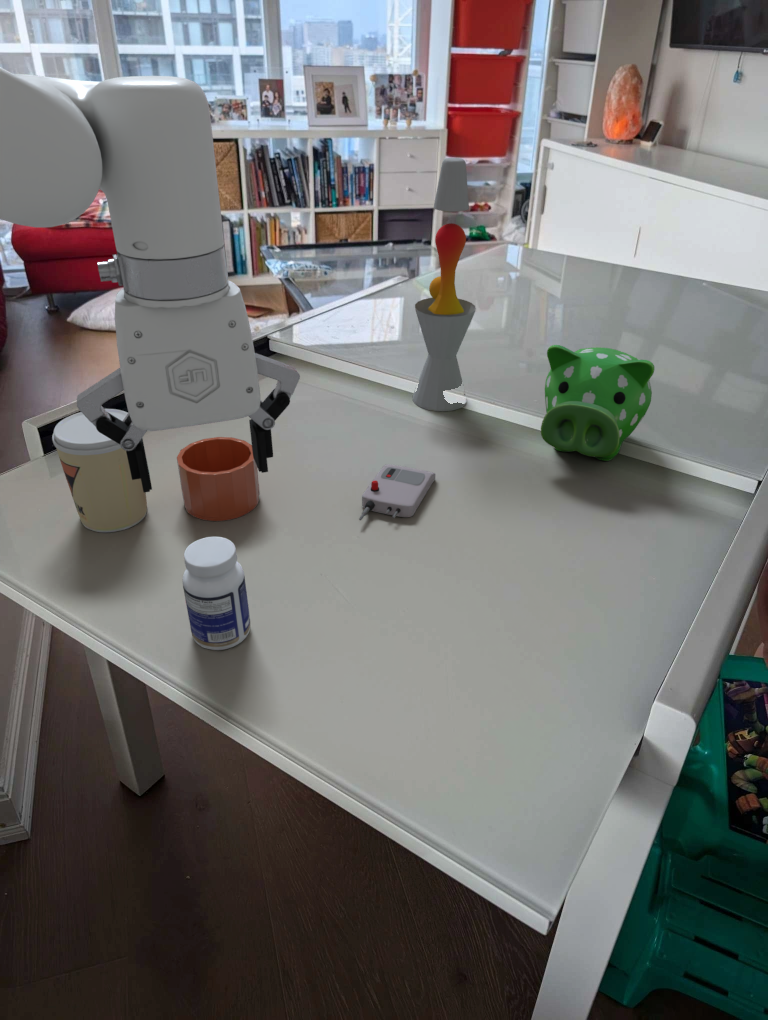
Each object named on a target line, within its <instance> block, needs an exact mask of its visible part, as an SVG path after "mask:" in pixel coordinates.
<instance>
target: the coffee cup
mask: <svg viewBox="0 0 768 1020" xmlns="http://www.w3.org/2000/svg"><path fill="white" fill-rule="evenodd" d="M104 410H105V411H106V412H108V413H110V414H111V415H113V416H115V417H116V418H118V419H120V420H121V421H123V420H124V418H125V417H126V415H127V414H128V412H127V411H124V410H121V409H116V408H104ZM51 436H52V437H51V441H52V443H53V446H54V447H55V448H56V449H55V450H56V451H57V455H58V458H59V461H60V464H61V467H62V470H63V473H64V476H65V480H66V482H67V485H68V488H69V491H70V494H71V497H72V500H73V503H74V505H75V508H76V512H77V514H78V517H79V520H80V522H81V524H82V525H83V526H84V528H86V529H88V530H90V531H92V532H96V533H115V532H121V531H124V530H128V529H130V528H133V527H134V526H137V525H138V524H139V523H140V522H142V521H143V520H144V518H145V517H146V515H147V512H148V503H147V502H148V501H147V494H146V493H147V492H145V493H144V492H143V487H142V482H141V479H135V480H132V477H131V472H130V467H129V463H128V458H127V453H126V450H124V449H122V448H121V445H120V444H118V443H116V442H115V441H113V440H111V439H110V438H108V437H106V436H105V435H103V434H101V433H100V432H98V431H97V429H96V427H95V426H94V425H93V423H91V422H90V421H89V420H88V419H87V418H86V417H85V415H84V414H83V413H82V412H81V411H80V412H77V413H73V414H71V415H68V416H66V417H65V418H63V419H61V420H60V421H59V422H58V423H56V425H55V427H54V428H53V433H52V435H51Z"/></svg>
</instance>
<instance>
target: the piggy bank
mask: <svg viewBox="0 0 768 1020" xmlns="http://www.w3.org/2000/svg"><path fill="white" fill-rule="evenodd" d="M546 355H547V360H548V363H549V367H550V370H549V372H548V373H547V376H546V379H545V384H544V403H545V411H546V413H545V415H544V417H543V419H542V422H541V426H540V435H541V438H542V440H543V441H544V442H545V443H546V444H548V445H549V446H551V447H553V448H554V449H555V450H556V451H558V452H562V453H568V452H569V453H571V452H577V453H578V454H581V455H583V456H586V457H590V458H591V457H592V458H595V459H597V460H598V461H604V462H609V461H612V460H613V459H614V458H615V457H616V456H617V455H618V453H619V452H620V450H621V447H622V444H623V442H624V441H625V440H626V439H627V438H628V437H630V435H631V434H632V433H633V432H634V431H635V430H636V428H638V426H639V424H640V423H641V422H642V420H643V419H644V417H645V415H646V414H647V411H648V409H649V407H650V406H651V402H652V396H653V395H652V394H653V391H652V390H653V389H652V384H651V381H650V380H651V378H652V376H653V375H654V372H655V365H654V363H653V362H652V361H650V360H648V359H639V358H637V357H635V356H633V355H631V354H629V353H626V352H624V351H621V350H618V349H615V348H614V349H613V348H609V347H596V346H595V347H585V348H579V349H577V350H575V351H573V350H571V349H569V348H567V347H566V346H564V345H561V344H553V345H550V346H548V348H547V351H546ZM620 446H621V447H620Z"/></svg>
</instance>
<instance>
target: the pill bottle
mask: <svg viewBox="0 0 768 1020" xmlns="http://www.w3.org/2000/svg"><path fill="white" fill-rule="evenodd" d="M183 559H184V560H183V561H184V566H185V570H184V572H183V575H182V588H183V593H184V599H185V604H186V610H187V616H188V621H189V626H190V627H189V628H190V632H191V635H192V638H193V640H194V642H195V643H196V644H197V645H199V646H200V647H202V648H204V649H206V650H213V651H222V650H223V651H224V650H227V649H230V648H233V647H236V646H237V645H239V644H241V643H242V642H243V641H244V640H245V639H246V638H247V637H248V635H249V633H250V630H251V616H250V608H249V607H250V606H249V600H248V591H247V584H246V575H245V571H244V569H243V566H242V565H241V563H240V562H239V561H238V554H237V549H236V545H235V543H234V542H233V541H232V540H230V539H228V538H226V537H222V536H206V537H203V538H199V539H197V540H195V541H193V542H192V543H190V544H189V545H188V546H187V547H186V548H185V550H184V552H183Z"/></svg>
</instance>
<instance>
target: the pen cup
mask: <svg viewBox="0 0 768 1020" xmlns="http://www.w3.org/2000/svg"><path fill="white" fill-rule="evenodd" d="M176 463H177V468H178V476H179V482H180V488H181V494H182V500H183V506H184V510H185V511H186V512H187V513H188V514H189V515H190V516H192V517H194V518H197V519H198V520H203V521H208V522H209V521H210V522H225V521H229V520H234V519H238V518H241V517H243V516H246V515H248V514H249V513H251V512H252V511H253V510H254V509H255V508H256V507H257V506H258V504H259V502H260V494H261V493H260V492H261V491H260V483H259V470H258V468H257V465H256V463H255V460H254V458H253V452H252V443H249V442H248V441H246V440H244V439H240V438H236V437H232V436H231V437H229V436H215V437H208V438H202V439H200V440H197V441H193V442H191V443H189V444H188V445H186V446H184V447H183V448H181V449H180V451H179V453H178V454H177V456H176Z"/></svg>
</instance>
